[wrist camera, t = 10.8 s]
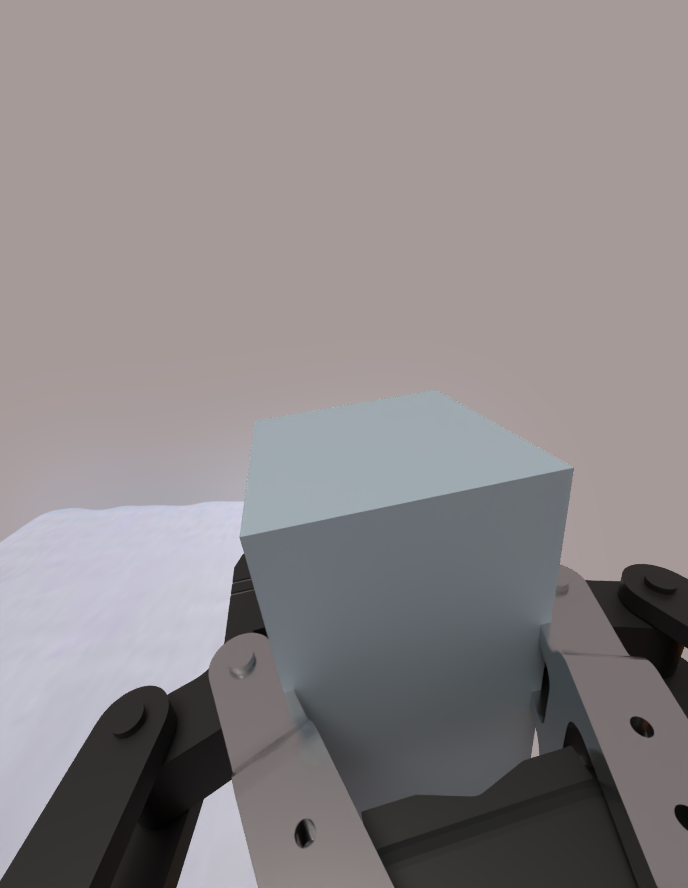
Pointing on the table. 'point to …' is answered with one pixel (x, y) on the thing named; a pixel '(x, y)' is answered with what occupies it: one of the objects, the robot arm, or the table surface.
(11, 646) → the table surface
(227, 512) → the table surface
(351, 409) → the slate block
